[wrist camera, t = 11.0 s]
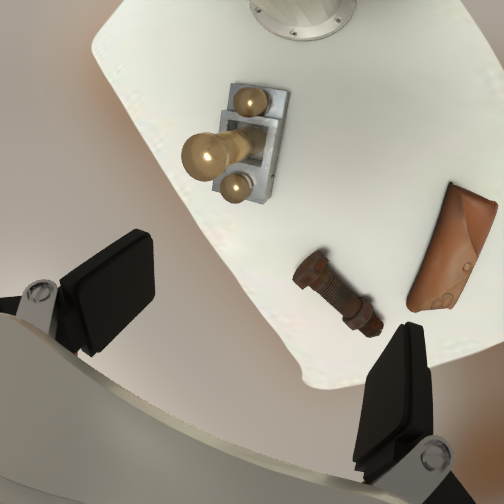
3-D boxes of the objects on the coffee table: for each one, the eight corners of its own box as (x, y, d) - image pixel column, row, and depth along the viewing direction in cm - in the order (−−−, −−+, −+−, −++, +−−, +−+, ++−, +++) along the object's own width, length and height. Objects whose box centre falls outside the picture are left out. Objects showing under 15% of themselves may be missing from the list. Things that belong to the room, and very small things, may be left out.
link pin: (239, 120, 35) (183, 130, 25) (272, 126, 34) (227, 138, 24) (234, 152, 38) (179, 176, 27) (266, 159, 37) (221, 186, 26)
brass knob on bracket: (235, 83, 33) (219, 81, 29) (289, 91, 32) (279, 90, 28) (221, 186, 41) (206, 196, 37) (269, 199, 39) (258, 210, 35)
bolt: (373, 317, 44) (306, 254, 42) (395, 313, 39) (325, 244, 38) (357, 348, 41) (285, 285, 40) (380, 347, 37) (303, 278, 35)
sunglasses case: (453, 313, 36) (440, 334, 32) (417, 290, 40) (399, 308, 37) (500, 200, 27) (497, 206, 23) (456, 179, 31) (444, 181, 28)
